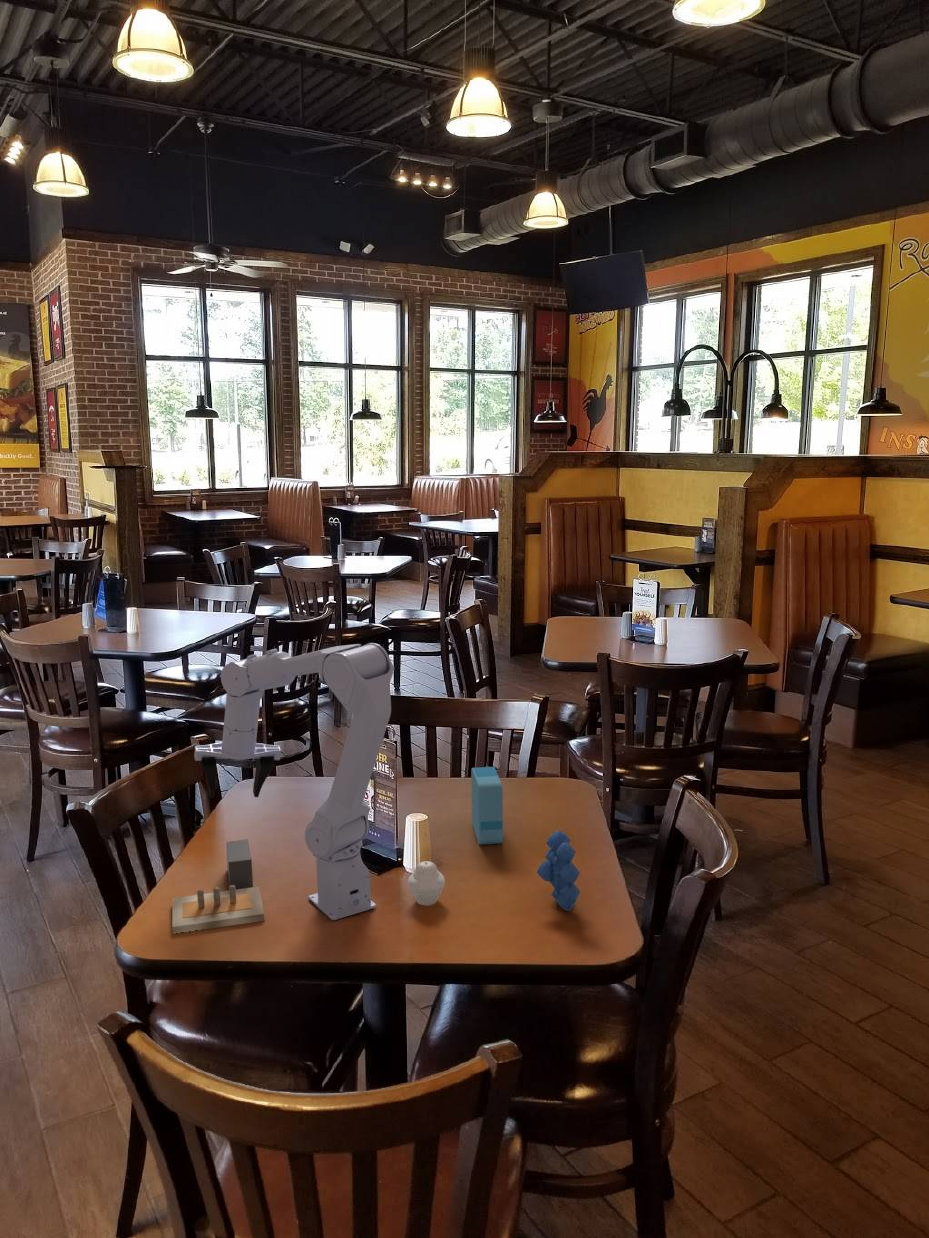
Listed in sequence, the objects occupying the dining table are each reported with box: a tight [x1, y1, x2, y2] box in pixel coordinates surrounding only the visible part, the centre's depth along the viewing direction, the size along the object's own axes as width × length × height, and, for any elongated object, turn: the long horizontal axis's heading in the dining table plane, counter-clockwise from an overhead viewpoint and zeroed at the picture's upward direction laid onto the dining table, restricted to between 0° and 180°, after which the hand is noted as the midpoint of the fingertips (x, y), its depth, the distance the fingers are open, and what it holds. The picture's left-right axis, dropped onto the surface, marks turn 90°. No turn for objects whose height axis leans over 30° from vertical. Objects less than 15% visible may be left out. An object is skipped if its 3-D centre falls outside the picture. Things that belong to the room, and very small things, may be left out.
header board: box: [171, 885, 265, 935], centre depth 154 cm, size 14×10×4 cm
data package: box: [470, 766, 504, 845], centre depth 183 cm, size 12×4×12 cm, turn 6°
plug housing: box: [225, 839, 254, 890], centre depth 166 cm, size 9×4×5 cm, turn 17°
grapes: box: [536, 830, 581, 911], centre depth 155 cm, size 12×7×12 cm, turn 11°
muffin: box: [407, 860, 446, 907], centre depth 157 cm, size 6×6×7 cm
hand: (233, 795), depth 168 cm, fingers open, 7 cm apart
